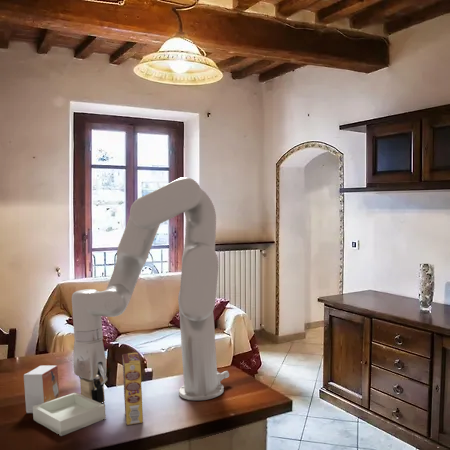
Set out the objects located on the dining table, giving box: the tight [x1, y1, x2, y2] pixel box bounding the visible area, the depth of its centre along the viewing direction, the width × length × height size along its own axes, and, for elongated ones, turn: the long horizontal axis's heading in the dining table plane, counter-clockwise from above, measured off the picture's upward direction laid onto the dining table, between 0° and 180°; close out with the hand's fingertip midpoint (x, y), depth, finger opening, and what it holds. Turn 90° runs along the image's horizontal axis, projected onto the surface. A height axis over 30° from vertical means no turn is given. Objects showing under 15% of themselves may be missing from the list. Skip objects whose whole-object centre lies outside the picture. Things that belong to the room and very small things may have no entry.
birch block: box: [79, 375, 106, 403], centre depth 134 cm, size 4×4×7 cm
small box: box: [23, 365, 60, 414], centre depth 133 cm, size 8×6×10 cm
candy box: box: [121, 352, 144, 426], centre depth 123 cm, size 9×4×15 cm, turn 14°
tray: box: [32, 392, 107, 437], centre depth 124 cm, size 12×15×4 cm
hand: (93, 400), depth 134 cm, fingers closed on birch block, 4 cm apart
